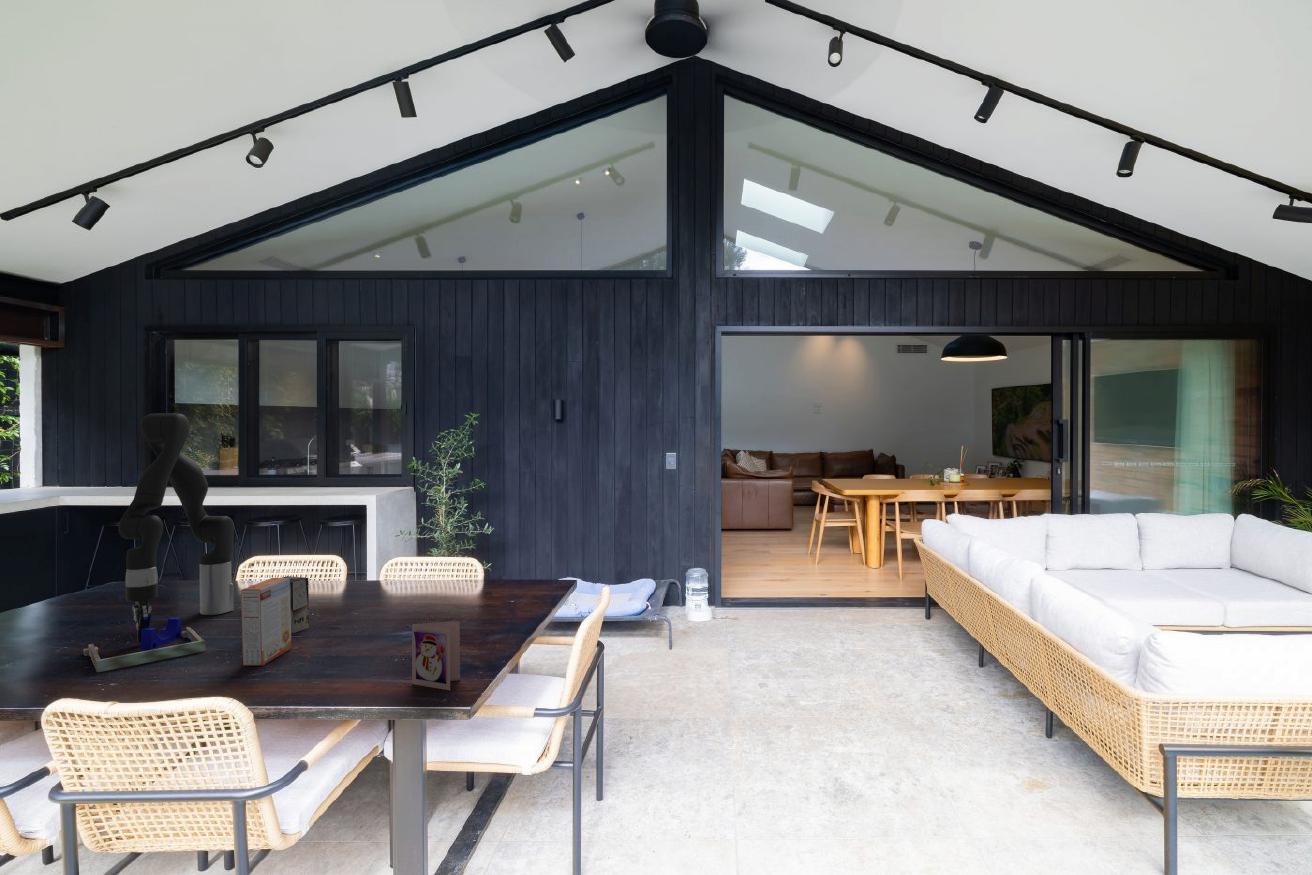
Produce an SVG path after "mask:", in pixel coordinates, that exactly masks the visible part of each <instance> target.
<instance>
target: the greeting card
mask: <svg viewBox="0 0 1312 875" xmlns="http://www.w3.org/2000/svg"><path fill="white" fill-rule="evenodd" d="M460 626H461V624H460V620H455V621H454V620H453V621H441V622H440V621H439V622H427V623H413V624H411V659H412V660H411V662H412V664H411V665H412V667H411V668H412V673H411V676H412V677H411V678H412V685H416V686H422V687H428V688H434V689H439V690H440V689H441V690H443V691H444V690H446V691H451V681H452V682H453V681H460V680H461V653H460V651H461V650H460V649H461V647H460V646H461V645H460V644H461V641H460V640H461V634H460V633H461V630H460V628H461V627H460Z"/></svg>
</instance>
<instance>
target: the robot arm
mask: <svg viewBox="0 0 1312 875" xmlns="http://www.w3.org/2000/svg"><path fill="white" fill-rule="evenodd" d="M141 431H142V435H143V437H144V439H145V441H146V442H147V445H148V446H149V447H150V448H151V450H152V451H153V453H154V454H155V456H156V459H154V461H153V462H152V463H151V464H150V465H149V466H148V467H147V468H146V469H145V470H144V471H143V473H142V474H141V476H140V477H139V479H138V482H137V486H136V489H135V491H134V492H135V493H134V497H133V499H132V500H131V502H130V504H129V506H128V508H126V511H124V513H123V515H122V516H121V518H120V521H119V522H118V533H119V535H120V537H121V538H123V539H124V540H141V543H140V546H136V547H135V546H134V547H132V548H130V549H128V550H127V551H126V554H125V555H126V557H125V558H126V559H125V560H126V565H125V566H126V567H125V568H126V569H125V570H126V572H125V601H127V602H133V603H134V605H132V611H133V621H134V625H135V628H136V632H137V634H136V636H137V638H136V640H137V642H138V643H139V644H141V629H144V628H150V625H151V624H150V623H151V618H152V613H151V612H152V604H150V603H149V601H150V600H154V599H156V598H157V597H158V596H159V595H158V594H159V592H158V591H159V589H158V587H159V586H158V585H159V584H158V582H159V580H158V578H159V577H158V568H157V551H158V547H159V544H160V541H161V538H162V535H163V531H164V523H163V520H162V519H161V517H160V516H158V515H155V514H147V513H148V512H149V511H152V510H156V509H159V508H160V507H162V505H163V501H164V499H165V498H164V497H165V494H166V490H167V486H168V483H169V482H170V484H171V487H172V489H173V490H174V492H175V494H176V496H177V497H178V499H179V501H180V503H181V507H182V508H183V510H184V513H185V515H186V518H187V521H188V523H189V527H190V530H191V532H192V535H193V537H194V538H195V540H196V541H197V542H200V543H203V544H207V543H209V544H210V543H211V544H213V543H214V547H213V549H212V550H210V551H208V552H205V553H202V554H201V555H200V556H199V560H198V561H199V614H200V615H202V616H215V615H221V614H225V613H229V612H232V611H234V583H232V555H233V552H234V536H235V535H234V533H235V531H234V530H235V529H234V528H235V526H234V522H233V519H232V518H231V517H229V516H228V515H209V514H207V512H206V510H205V508H204V501H205V499H206V496H207V494H208V490H209V483H208V481H207V478H206V476H205V474H204V471H203V470H202V468H201V467H200V466H199V465H198V464H197V463H196V462H195V461H194V460H192V459H191V458H190V457H188V456H187V455H186V454H185V453H183V452H182V450H183V448H184V446H185V443H186V442H187V439H188V437H189V433H190V421H189V420H188V418H187V416H185V415H184V414H182V413H176V412H175V413H174V412H173V413H169V412H168V413H167V412H165V413H163V412H162V413H149V414H147V415H145V416H144V417H143V418H142V420H141Z"/></svg>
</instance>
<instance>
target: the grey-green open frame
mask: <svg viewBox="0 0 1312 875" xmlns="http://www.w3.org/2000/svg"><path fill="white" fill-rule="evenodd" d="M181 638H183V639H185V638H188V640H189V641H190V642H186V643H181V644H175V645H169V646H165V647H164V646H163V647H160V648H159V647H158V648H155V649H153V650H142V651H139V652H133V653H127V654H122V655H116V656H112V657H105V658H102V659H101V657H100V655H99V648H98V646H94V643H90V644H88V646H87V648H83V650H82V651H83V655H84V657H85V656H89V658H90V657H91V658H90V659H91V661H92V664H93V666H94V669H95V671H96V673H101V672H106V671H111V670H116V669H122V668H127V667H132V666H137V665H141V664H147V663H151V662H157V661H162V660H167V659H172V658H179V657H183V656H187V655H191V654H197V653H202V652H206V640H205V639H203V638H201V636H200V635H198V633H197V632H196V631H195V630H194V629H192V628H191V627H190V626H186V627H185V630H183V631H181Z"/></svg>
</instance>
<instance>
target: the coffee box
mask: <svg viewBox="0 0 1312 875" xmlns="http://www.w3.org/2000/svg"><path fill="white" fill-rule="evenodd" d="M281 578H290V609H291V634H295V633H298V632H300V631H304V630H307V629H309V628H310V607H309V606H310V601H309V598H310V594H309V589H310V588H309V587H310V586H309V583H310V582H309V577H301V576H292V575H291V576H290V575H289V576H288V575H287V576H283V577H281Z"/></svg>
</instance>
